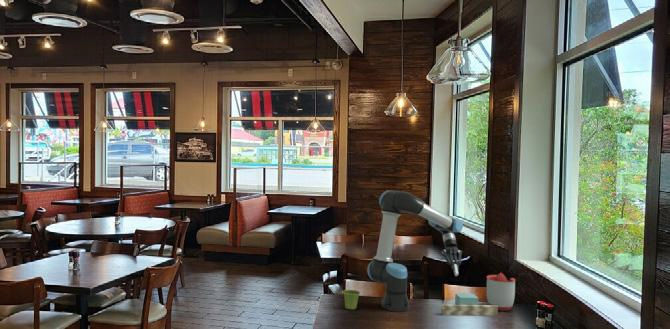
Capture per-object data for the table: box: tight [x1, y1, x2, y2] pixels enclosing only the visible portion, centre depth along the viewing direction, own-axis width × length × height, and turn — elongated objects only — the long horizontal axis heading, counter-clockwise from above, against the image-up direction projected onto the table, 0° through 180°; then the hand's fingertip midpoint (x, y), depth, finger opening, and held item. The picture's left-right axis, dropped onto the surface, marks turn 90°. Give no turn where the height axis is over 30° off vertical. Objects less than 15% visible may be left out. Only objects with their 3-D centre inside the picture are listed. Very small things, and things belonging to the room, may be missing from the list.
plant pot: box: [342, 289, 361, 310], centre depth 246 cm, size 9×9×9 cm
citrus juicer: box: [486, 272, 516, 312], centre depth 256 cm, size 16×17×20 cm
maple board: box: [440, 304, 499, 317], centre depth 241 cm, size 30×2×5 cm, turn 93°
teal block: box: [454, 292, 479, 305], centre depth 246 cm, size 10×8×9 cm
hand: (456, 274), depth 265 cm, fingers closed
